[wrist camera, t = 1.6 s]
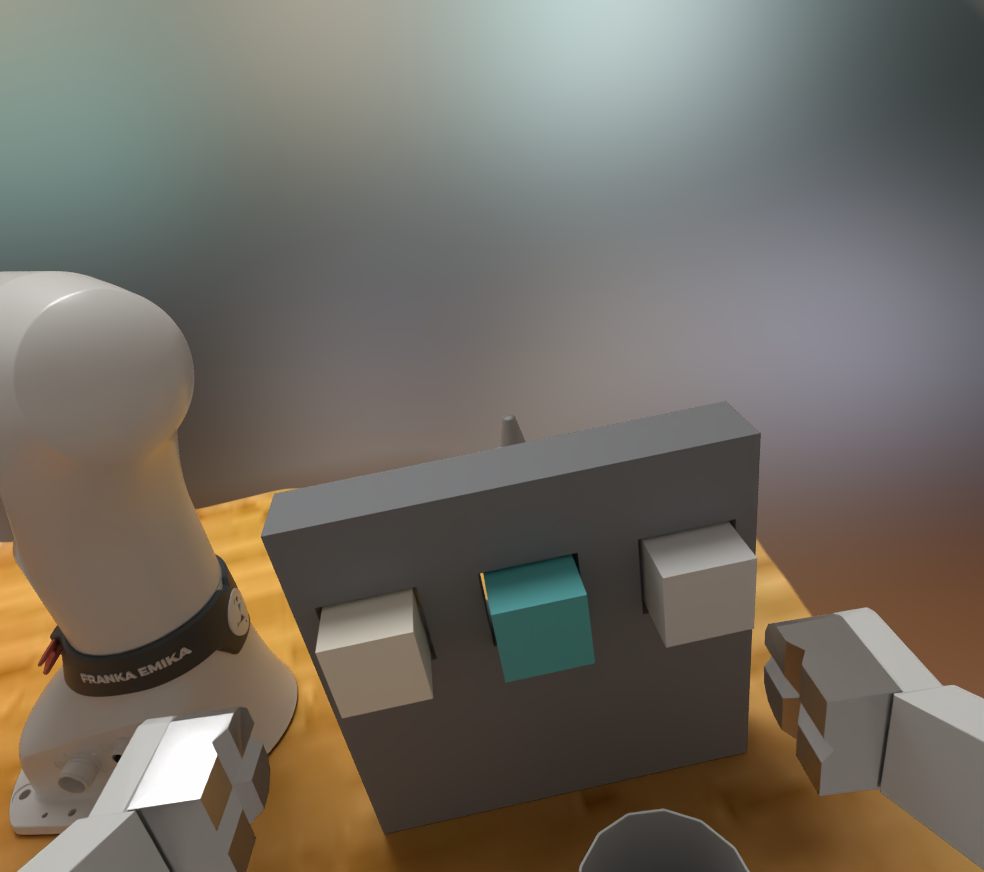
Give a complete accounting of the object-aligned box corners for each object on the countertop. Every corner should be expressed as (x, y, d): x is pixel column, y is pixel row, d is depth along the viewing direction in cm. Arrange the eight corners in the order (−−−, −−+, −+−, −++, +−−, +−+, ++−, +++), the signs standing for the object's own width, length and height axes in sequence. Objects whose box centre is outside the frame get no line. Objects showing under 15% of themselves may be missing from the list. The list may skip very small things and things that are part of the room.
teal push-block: (505, 682, 35) (491, 615, 33) (491, 606, 41) (478, 543, 38) (595, 663, 35) (586, 594, 33) (569, 589, 41) (561, 526, 38)
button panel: (384, 834, 45) (260, 536, 33) (385, 780, 48) (274, 493, 36) (746, 752, 46) (760, 433, 33) (722, 705, 49) (726, 401, 37)
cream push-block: (341, 718, 35) (315, 652, 33) (349, 637, 40) (326, 575, 38) (433, 698, 35) (413, 631, 33) (428, 619, 40) (411, 557, 38)
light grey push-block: (666, 647, 36) (663, 578, 33) (631, 576, 41) (626, 512, 38) (753, 628, 36) (757, 558, 33) (708, 560, 41) (708, 495, 39)
